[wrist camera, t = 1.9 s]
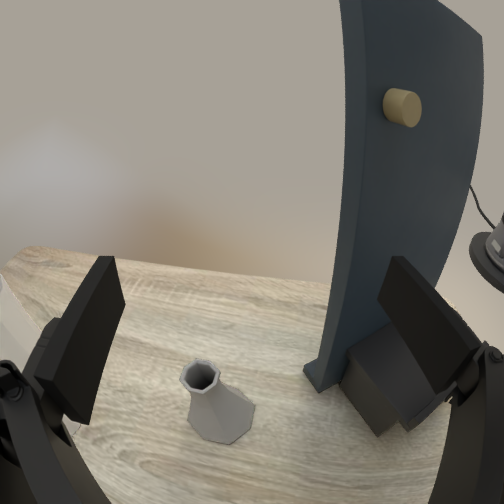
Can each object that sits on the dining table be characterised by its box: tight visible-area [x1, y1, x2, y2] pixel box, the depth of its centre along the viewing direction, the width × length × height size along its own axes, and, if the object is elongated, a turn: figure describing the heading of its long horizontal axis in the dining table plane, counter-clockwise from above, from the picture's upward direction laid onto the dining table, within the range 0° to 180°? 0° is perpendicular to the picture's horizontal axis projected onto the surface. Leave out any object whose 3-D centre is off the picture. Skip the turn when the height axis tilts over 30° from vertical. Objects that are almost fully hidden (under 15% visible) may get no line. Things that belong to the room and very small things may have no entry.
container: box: [0, 273, 81, 436], centre depth 19 cm, size 14×14×18 cm
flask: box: [179, 359, 255, 444], centre depth 23 cm, size 7×7×10 cm
